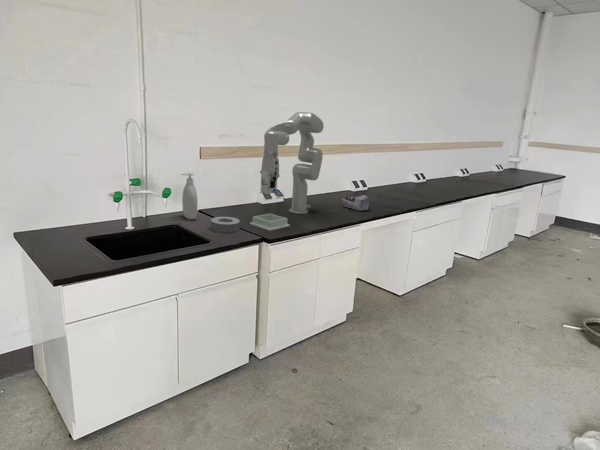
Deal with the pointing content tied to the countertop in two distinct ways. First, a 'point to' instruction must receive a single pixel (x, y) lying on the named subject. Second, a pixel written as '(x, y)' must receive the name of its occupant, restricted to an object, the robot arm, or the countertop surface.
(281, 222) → the dock
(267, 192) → the ink box
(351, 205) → the cell model
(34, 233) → the countertop surface
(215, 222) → the tape roll
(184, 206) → the soap bottle
